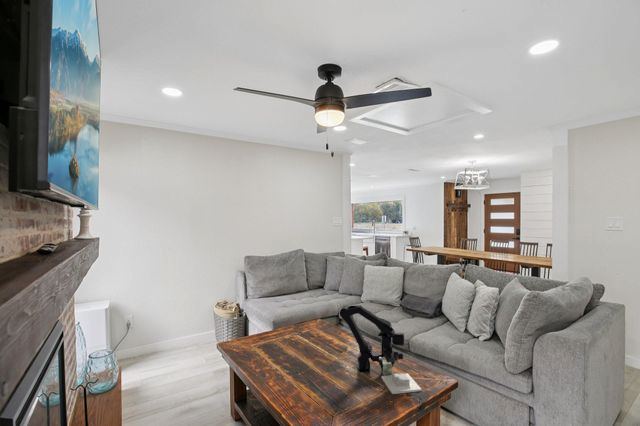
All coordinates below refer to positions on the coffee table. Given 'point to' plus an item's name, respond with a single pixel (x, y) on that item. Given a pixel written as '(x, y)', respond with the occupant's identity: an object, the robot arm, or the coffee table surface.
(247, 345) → the coffee table surface
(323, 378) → the coffee table surface
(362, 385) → the coffee table surface
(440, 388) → the coffee table surface
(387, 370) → the sage block
